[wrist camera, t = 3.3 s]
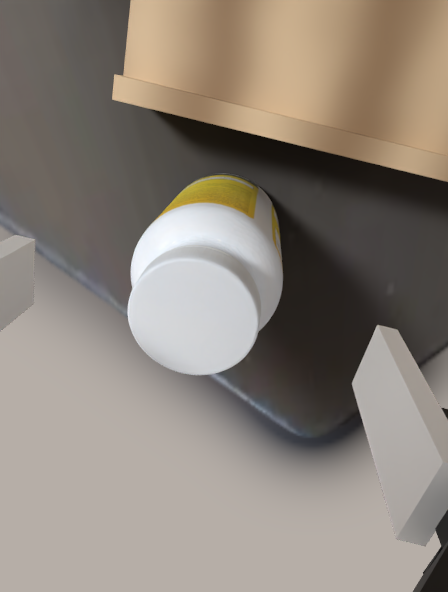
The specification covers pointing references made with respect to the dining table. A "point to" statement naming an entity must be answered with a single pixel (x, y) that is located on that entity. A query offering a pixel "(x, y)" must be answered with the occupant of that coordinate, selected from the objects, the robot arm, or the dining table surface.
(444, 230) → the dining table surface
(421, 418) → the robot arm
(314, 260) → the dining table surface
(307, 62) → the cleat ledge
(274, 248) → the pill bottle
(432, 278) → the dining table surface
